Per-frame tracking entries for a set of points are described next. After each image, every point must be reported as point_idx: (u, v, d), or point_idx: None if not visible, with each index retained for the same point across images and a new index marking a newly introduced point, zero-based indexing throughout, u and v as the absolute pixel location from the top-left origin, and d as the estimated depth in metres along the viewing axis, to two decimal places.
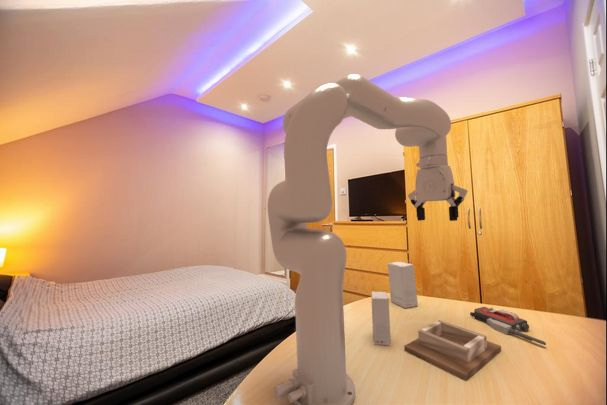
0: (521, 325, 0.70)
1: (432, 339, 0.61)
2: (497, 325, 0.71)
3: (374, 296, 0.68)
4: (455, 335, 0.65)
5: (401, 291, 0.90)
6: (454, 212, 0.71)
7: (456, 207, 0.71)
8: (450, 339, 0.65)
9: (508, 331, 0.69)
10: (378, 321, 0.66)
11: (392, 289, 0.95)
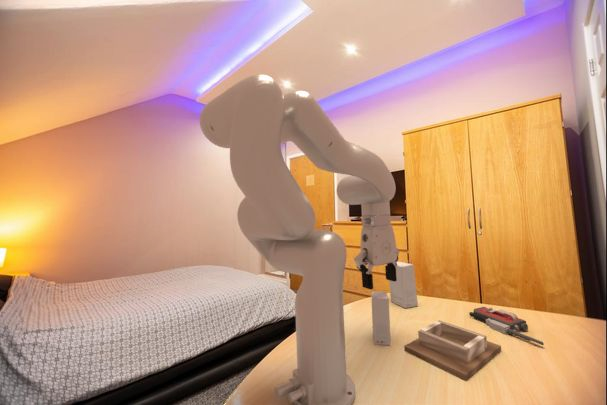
0: (520, 325, 0.70)
1: (432, 339, 0.61)
2: (496, 325, 0.71)
3: (374, 296, 0.68)
4: (455, 335, 0.65)
5: (401, 291, 0.90)
6: None
7: None
8: (450, 339, 0.65)
9: (506, 331, 0.69)
10: (378, 321, 0.66)
11: (392, 289, 0.95)
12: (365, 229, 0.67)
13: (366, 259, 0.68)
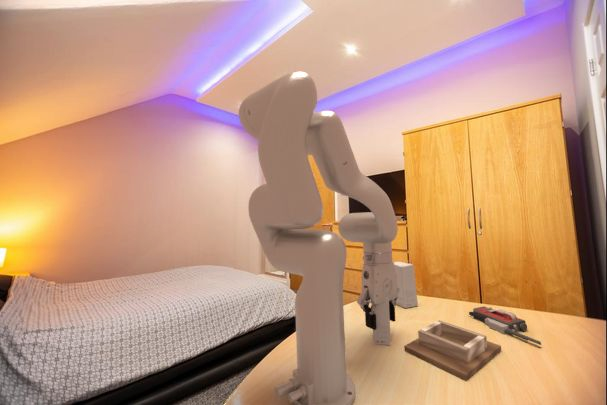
0: (519, 325, 0.70)
1: (432, 339, 0.61)
2: (494, 324, 0.71)
3: None
4: (455, 335, 0.65)
5: (401, 291, 0.90)
6: None
7: None
8: (450, 339, 0.65)
9: (505, 330, 0.69)
10: (378, 321, 0.66)
11: None
12: (366, 266, 0.67)
13: (367, 296, 0.68)
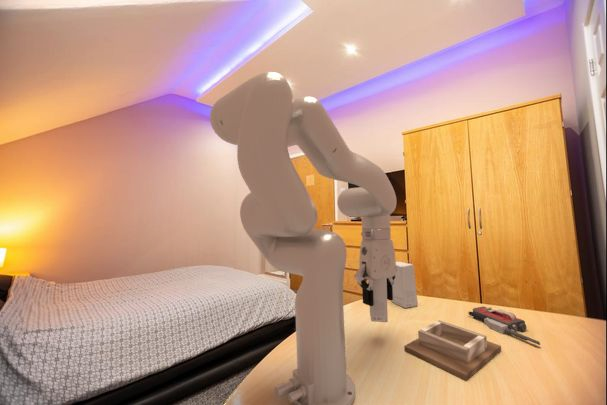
0: (518, 325, 0.70)
1: (432, 339, 0.61)
2: (493, 324, 0.71)
3: None
4: (455, 335, 0.65)
5: (401, 291, 0.90)
6: None
7: None
8: (450, 339, 0.65)
9: (504, 330, 0.69)
10: (375, 298, 0.66)
11: None
12: (365, 242, 0.67)
13: (365, 273, 0.67)
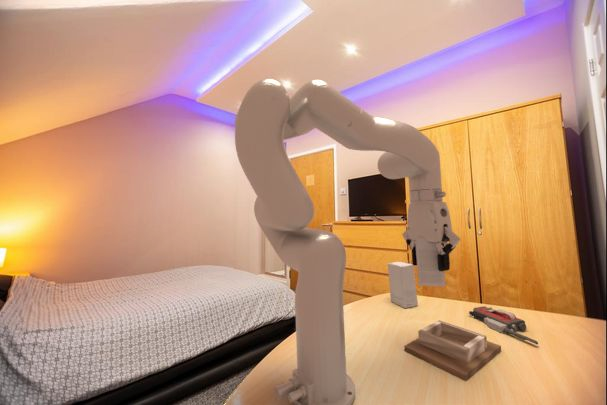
0: (518, 325, 0.70)
1: (432, 339, 0.61)
2: (493, 324, 0.72)
3: None
4: (455, 335, 0.65)
5: (401, 291, 0.90)
6: None
7: None
8: (450, 339, 0.65)
9: (503, 330, 0.69)
10: None
11: (392, 289, 0.95)
12: (441, 203, 0.61)
13: None
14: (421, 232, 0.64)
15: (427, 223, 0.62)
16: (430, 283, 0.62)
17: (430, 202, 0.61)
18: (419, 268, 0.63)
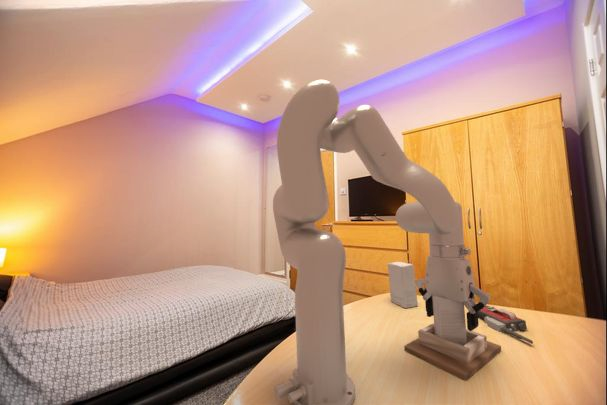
0: (517, 324, 0.71)
1: (432, 339, 0.61)
2: (491, 323, 0.73)
3: None
4: None
5: (401, 291, 0.90)
6: None
7: None
8: None
9: (501, 329, 0.70)
10: None
11: (392, 289, 0.95)
12: (466, 261, 0.59)
13: None
14: (444, 289, 0.61)
15: (451, 281, 0.59)
16: None
17: (455, 259, 0.59)
18: (441, 331, 0.61)
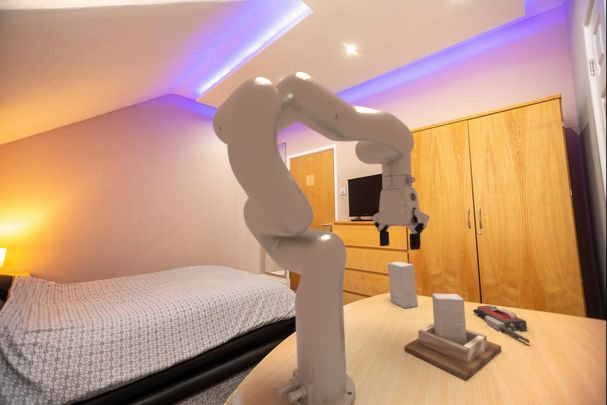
0: (517, 324, 0.71)
1: (432, 339, 0.61)
2: (491, 322, 0.73)
3: (455, 298, 0.61)
4: None
5: (401, 291, 0.90)
6: None
7: None
8: None
9: (499, 328, 0.71)
10: None
11: (392, 289, 0.95)
12: (411, 188, 0.65)
13: None
14: (392, 216, 0.67)
15: (398, 207, 0.65)
16: None
17: (401, 187, 0.65)
18: (441, 331, 0.61)
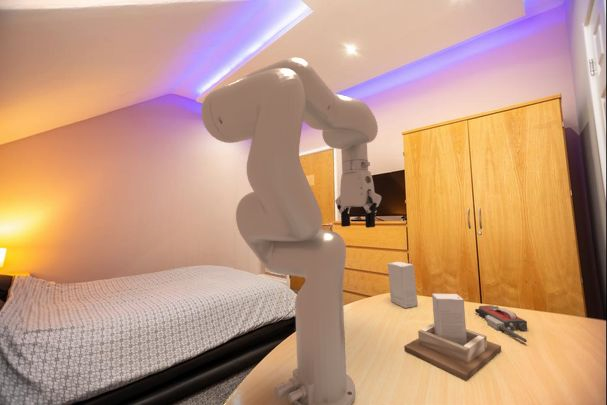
0: (517, 324, 0.71)
1: (432, 339, 0.61)
2: (490, 321, 0.74)
3: (455, 298, 0.61)
4: None
5: (401, 291, 0.90)
6: None
7: None
8: None
9: (498, 327, 0.71)
10: None
11: (392, 289, 0.95)
12: (366, 172, 0.71)
13: None
14: (350, 198, 0.73)
15: (355, 189, 0.71)
16: None
17: (357, 171, 0.71)
18: (441, 331, 0.61)
